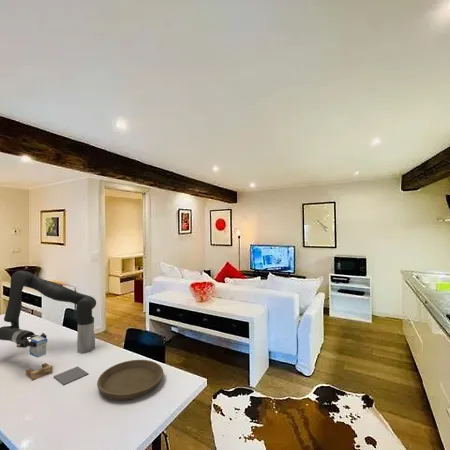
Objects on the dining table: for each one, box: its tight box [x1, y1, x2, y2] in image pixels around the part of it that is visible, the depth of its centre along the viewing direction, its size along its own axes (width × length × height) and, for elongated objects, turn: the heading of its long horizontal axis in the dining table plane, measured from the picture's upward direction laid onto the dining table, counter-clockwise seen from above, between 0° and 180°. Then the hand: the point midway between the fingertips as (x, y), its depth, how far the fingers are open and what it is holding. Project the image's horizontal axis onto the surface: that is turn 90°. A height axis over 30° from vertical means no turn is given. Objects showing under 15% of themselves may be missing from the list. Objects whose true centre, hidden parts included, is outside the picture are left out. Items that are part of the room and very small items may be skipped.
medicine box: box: [29, 336, 48, 359], centre depth 139 cm, size 8×4×9 cm, turn 62°
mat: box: [53, 365, 89, 386], centre depth 136 cm, size 12×12×1 cm
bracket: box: [25, 362, 54, 381], centre depth 138 cm, size 9×9×4 cm
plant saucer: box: [96, 359, 164, 401], centre depth 130 cm, size 31×31×5 cm
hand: (41, 343), depth 138 cm, fingers closed on medicine box, 4 cm apart
